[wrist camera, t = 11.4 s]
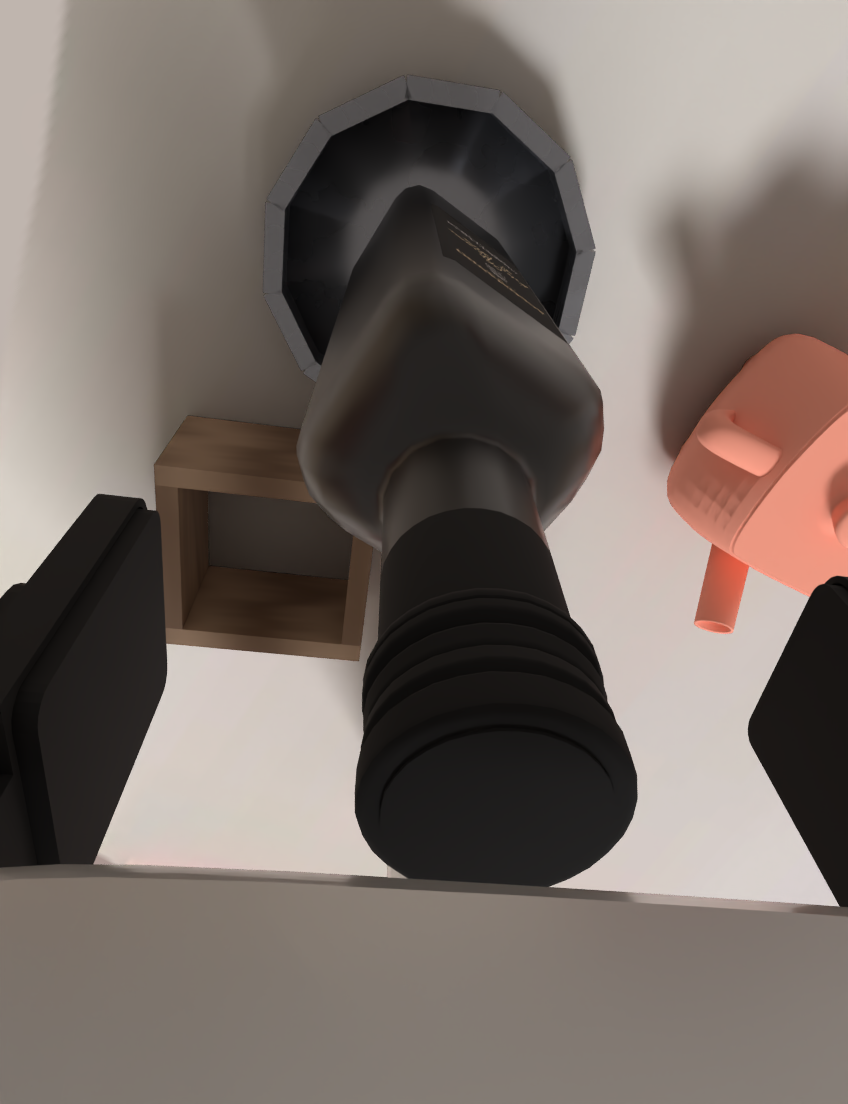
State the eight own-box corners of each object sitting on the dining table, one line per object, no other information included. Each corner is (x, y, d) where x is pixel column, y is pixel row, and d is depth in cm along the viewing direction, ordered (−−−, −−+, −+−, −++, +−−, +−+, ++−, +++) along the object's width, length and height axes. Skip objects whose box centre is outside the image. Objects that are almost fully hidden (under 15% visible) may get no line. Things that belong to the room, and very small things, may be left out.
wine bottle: (410, 172, 31) (429, 474, 6) (515, 252, 33) (892, 761, 7) (340, 287, 34) (132, 868, 8) (442, 357, 36) (537, 1016, 10)
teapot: (863, 530, 42) (982, 639, 34) (655, 566, 43) (718, 681, 35) (898, 273, 35) (1061, 327, 26) (646, 323, 36) (724, 391, 27)
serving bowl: (613, 111, 31) (629, 112, 29) (540, 422, 38) (548, 441, 36) (279, 55, 30) (269, 51, 28) (268, 387, 37) (259, 405, 35)
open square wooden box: (382, 439, 39) (380, 490, 34) (363, 595, 44) (358, 661, 39) (187, 415, 38) (154, 464, 33) (191, 578, 43) (162, 643, 38)
